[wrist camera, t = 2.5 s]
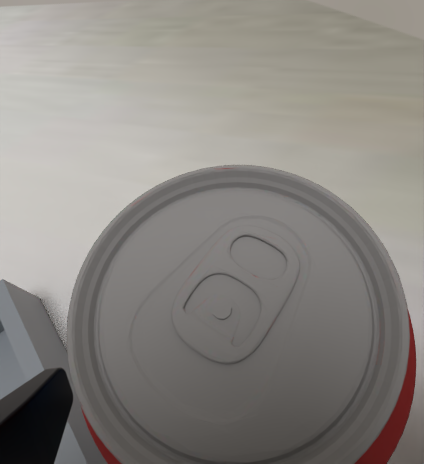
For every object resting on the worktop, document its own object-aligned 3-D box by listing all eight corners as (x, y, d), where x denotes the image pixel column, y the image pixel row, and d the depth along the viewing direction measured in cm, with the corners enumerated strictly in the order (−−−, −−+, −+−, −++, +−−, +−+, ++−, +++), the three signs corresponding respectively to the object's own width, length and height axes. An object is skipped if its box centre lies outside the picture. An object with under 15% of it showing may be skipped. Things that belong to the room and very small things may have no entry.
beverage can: (150, 393, 16) (-61, 356, 5) (229, 279, 18) (186, 96, 8) (275, 499, 14) (328, 801, 3) (350, 352, 16) (530, 233, 5)
